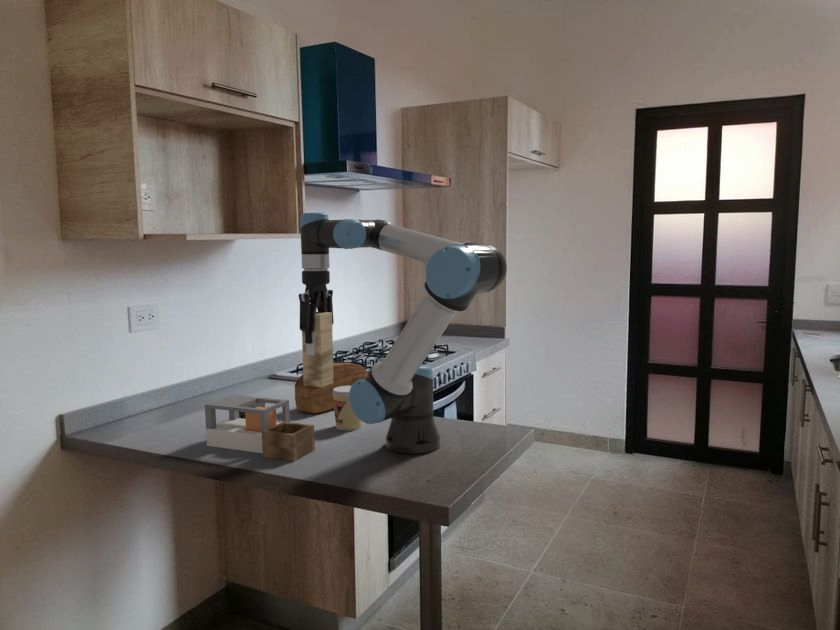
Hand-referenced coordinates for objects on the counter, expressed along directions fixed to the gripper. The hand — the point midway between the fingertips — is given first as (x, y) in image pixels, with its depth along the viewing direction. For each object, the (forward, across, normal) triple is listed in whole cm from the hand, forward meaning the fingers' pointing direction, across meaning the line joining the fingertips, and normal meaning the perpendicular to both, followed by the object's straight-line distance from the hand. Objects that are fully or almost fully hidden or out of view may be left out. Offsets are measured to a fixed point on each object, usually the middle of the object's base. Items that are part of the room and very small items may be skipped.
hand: (317, 352), depth 184 cm
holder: (+26, +10, -3) cm, 28 cm away
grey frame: (+26, +7, -19) cm, 34 cm away
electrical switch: (+27, -6, -29) cm, 40 cm away
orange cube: (+22, +7, -15) cm, 28 cm away
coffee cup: (+26, -17, -1) cm, 32 cm away
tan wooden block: (+9, 0, 0) cm, 9 cm away
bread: (+27, -38, -19) cm, 50 cm away
